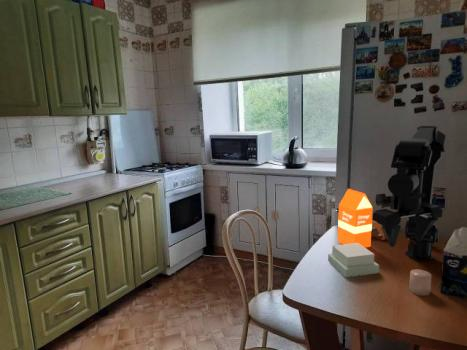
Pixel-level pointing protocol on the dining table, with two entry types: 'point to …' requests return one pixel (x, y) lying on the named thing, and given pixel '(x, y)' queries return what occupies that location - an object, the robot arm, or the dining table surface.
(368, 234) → the orange juice
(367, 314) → the dining table surface
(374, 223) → the lion figurine
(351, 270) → the sage slab
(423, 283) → the pale pink cylinder
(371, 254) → the cream slab
